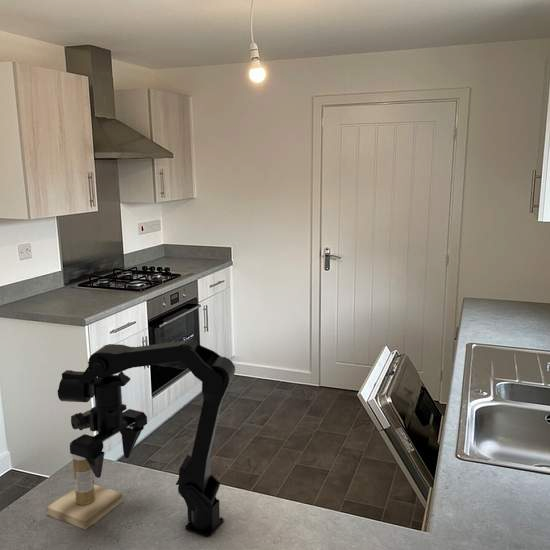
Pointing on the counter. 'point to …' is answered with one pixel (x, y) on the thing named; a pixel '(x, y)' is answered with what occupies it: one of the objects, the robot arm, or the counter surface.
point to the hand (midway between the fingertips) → (112, 467)
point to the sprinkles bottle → (83, 481)
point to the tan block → (84, 507)
